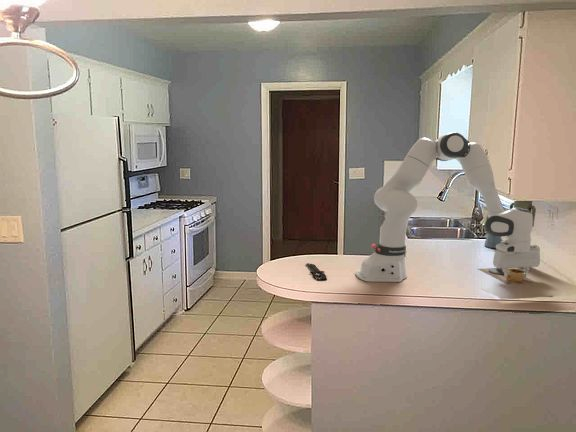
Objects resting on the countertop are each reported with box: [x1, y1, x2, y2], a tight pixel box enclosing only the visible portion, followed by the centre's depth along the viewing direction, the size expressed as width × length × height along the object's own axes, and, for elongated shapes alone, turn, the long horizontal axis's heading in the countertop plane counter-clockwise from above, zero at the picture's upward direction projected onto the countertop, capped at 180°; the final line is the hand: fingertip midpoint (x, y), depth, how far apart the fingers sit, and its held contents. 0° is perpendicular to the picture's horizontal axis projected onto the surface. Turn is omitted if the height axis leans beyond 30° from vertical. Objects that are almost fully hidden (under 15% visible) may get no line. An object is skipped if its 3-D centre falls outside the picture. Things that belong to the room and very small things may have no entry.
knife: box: [305, 262, 328, 282], centre depth 219 cm, size 26×7×1 cm, turn 6°
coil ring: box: [506, 268, 525, 282], centre depth 206 cm, size 7×7×4 cm
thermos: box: [509, 200, 537, 228], centre depth 228 cm, size 9×12×35 cm
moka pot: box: [484, 214, 503, 249], centre depth 266 cm, size 10×15×20 cm, turn 2°
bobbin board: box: [477, 267, 538, 285], centre depth 211 cm, size 14×22×8 cm, turn 11°
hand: (515, 277), depth 206 cm, fingers closed on coil ring, 7 cm apart
